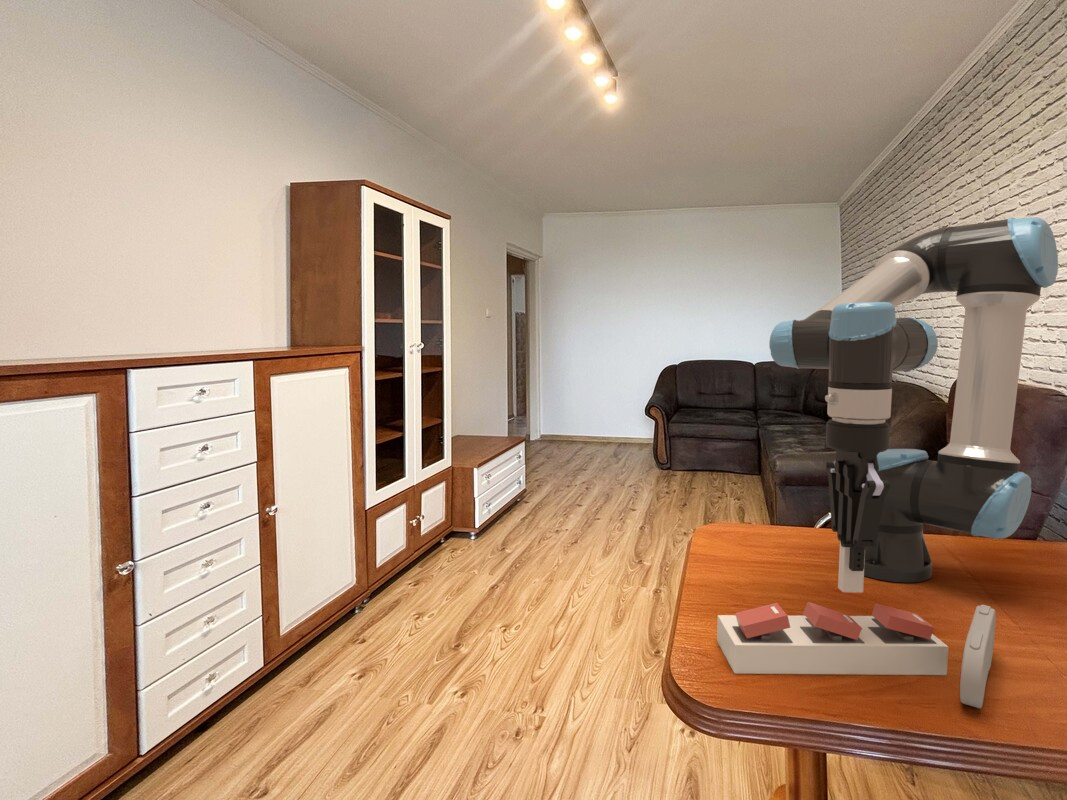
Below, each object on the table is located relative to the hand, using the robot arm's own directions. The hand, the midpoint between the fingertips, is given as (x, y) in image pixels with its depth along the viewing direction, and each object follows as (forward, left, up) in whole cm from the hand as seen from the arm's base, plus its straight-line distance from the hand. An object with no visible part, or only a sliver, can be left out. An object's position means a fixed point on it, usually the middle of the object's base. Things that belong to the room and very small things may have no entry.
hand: (850, 589), depth 86 cm
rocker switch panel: (+2, -1, -10) cm, 11 cm away
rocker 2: (+2, 0, -4) cm, 5 cm away
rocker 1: (+12, 0, -4) cm, 13 cm away
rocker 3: (-7, 0, -4) cm, 8 cm away
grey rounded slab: (-15, +5, -11) cm, 19 cm away
